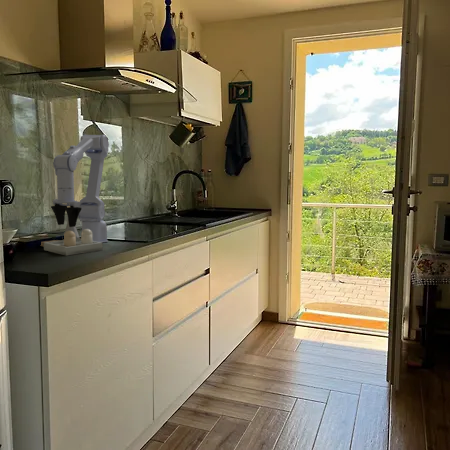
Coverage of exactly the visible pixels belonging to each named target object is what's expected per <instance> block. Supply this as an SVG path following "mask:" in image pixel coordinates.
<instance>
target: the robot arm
mask: <svg viewBox="0 0 450 450" xmlns="http://www.w3.org/2000/svg"><path fill="white" fill-rule="evenodd" d="M79 140H80V141H79V142H78V144H77V145H70V146H69V148H68V149H66V150H65V151H64V152H63V153H62V154H57V155H56V156H55V157H54V158H53V162H52V166H53V168H54V173H55V176H56V188H57V189H56V191H57V199H55V198H54V199H52V206H51V205H50V209H51V210H52V211H53V214H54V216H55V219H56V223H57V226H63V225H65V221H66V220H65V219H66V217H65V216H67V215H68V217H67V221H68V222H69V227H77V222H78V219H79V220H80V222H81V232H82V231H83V230H84V229H90V230H91V231H92V239H93V241H96V242H101V243H108V242H109V240H108V230H107V229H108V228H107V227H108V226H107V222H106V221H105V220H104V218H105V214H106V210H105V206H106V205H105V204H106V203H105V202H104V201H103V200H102V199H101V198H100V192H101V191H100V190H101V185H102V179H103V171H104V163H105V158H106V157H108V153H109V147H110V146H109V145H110V143H109V138H108V137H107V135H106V134H85V133H83V135H81V136H80V139H79ZM84 154H85V155H86V157H88V158H90V167H89V174H88V180H87V187H86V188H87V189H86V192H85V193H86V194H85V196H84V197H83V198H81V199H80V200H79V201H78V200H75V177H74V175H75V174H74V171H76V169H77V167H78V163H79V162H80V161H81V160H82V159H83V158H84Z"/></svg>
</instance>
